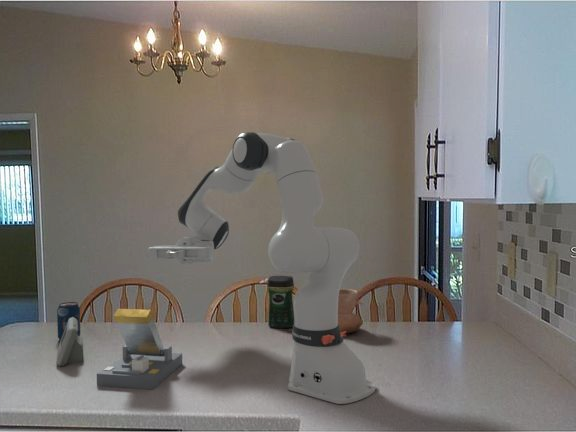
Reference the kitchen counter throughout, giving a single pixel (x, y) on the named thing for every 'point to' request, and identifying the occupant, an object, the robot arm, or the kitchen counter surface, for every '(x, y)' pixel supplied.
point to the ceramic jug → (348, 311)
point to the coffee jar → (280, 301)
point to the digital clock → (70, 344)
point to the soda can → (67, 316)
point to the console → (125, 377)
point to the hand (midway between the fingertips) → (170, 255)
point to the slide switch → (140, 364)
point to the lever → (139, 332)
